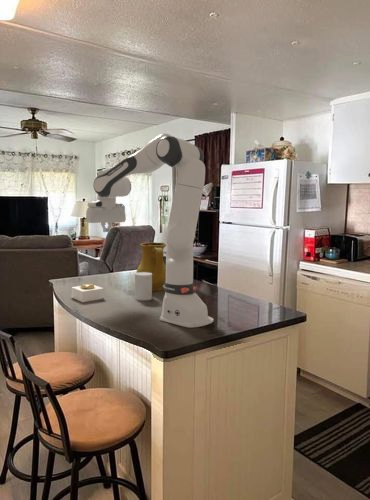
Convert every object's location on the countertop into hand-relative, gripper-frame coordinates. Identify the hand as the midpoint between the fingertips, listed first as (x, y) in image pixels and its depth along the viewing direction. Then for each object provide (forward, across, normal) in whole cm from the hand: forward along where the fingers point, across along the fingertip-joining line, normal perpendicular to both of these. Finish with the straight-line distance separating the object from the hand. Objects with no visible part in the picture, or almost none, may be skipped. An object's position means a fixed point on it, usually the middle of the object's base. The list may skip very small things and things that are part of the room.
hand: (106, 231), depth 192 cm
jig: (+31, +11, +1) cm, 33 cm away
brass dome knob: (+31, +11, +1) cm, 32 cm away
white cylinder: (+31, -10, +17) cm, 37 cm away
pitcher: (+31, -25, +4) cm, 40 cm away
